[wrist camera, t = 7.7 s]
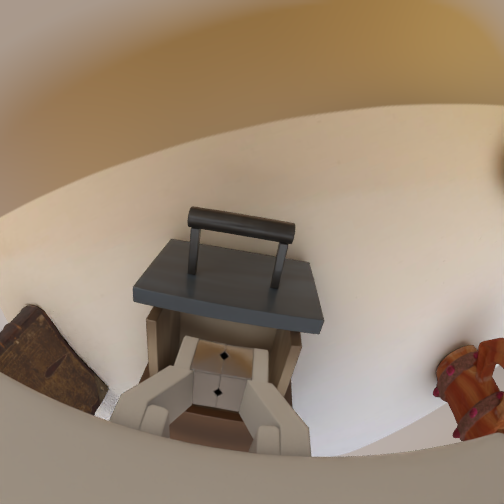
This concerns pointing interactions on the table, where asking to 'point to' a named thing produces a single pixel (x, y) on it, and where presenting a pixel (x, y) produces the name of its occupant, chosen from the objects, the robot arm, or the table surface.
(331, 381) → the table surface
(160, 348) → the drawer
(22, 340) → the book
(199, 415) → the cabinet
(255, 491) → the robot arm
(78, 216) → the table surface
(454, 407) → the mug
